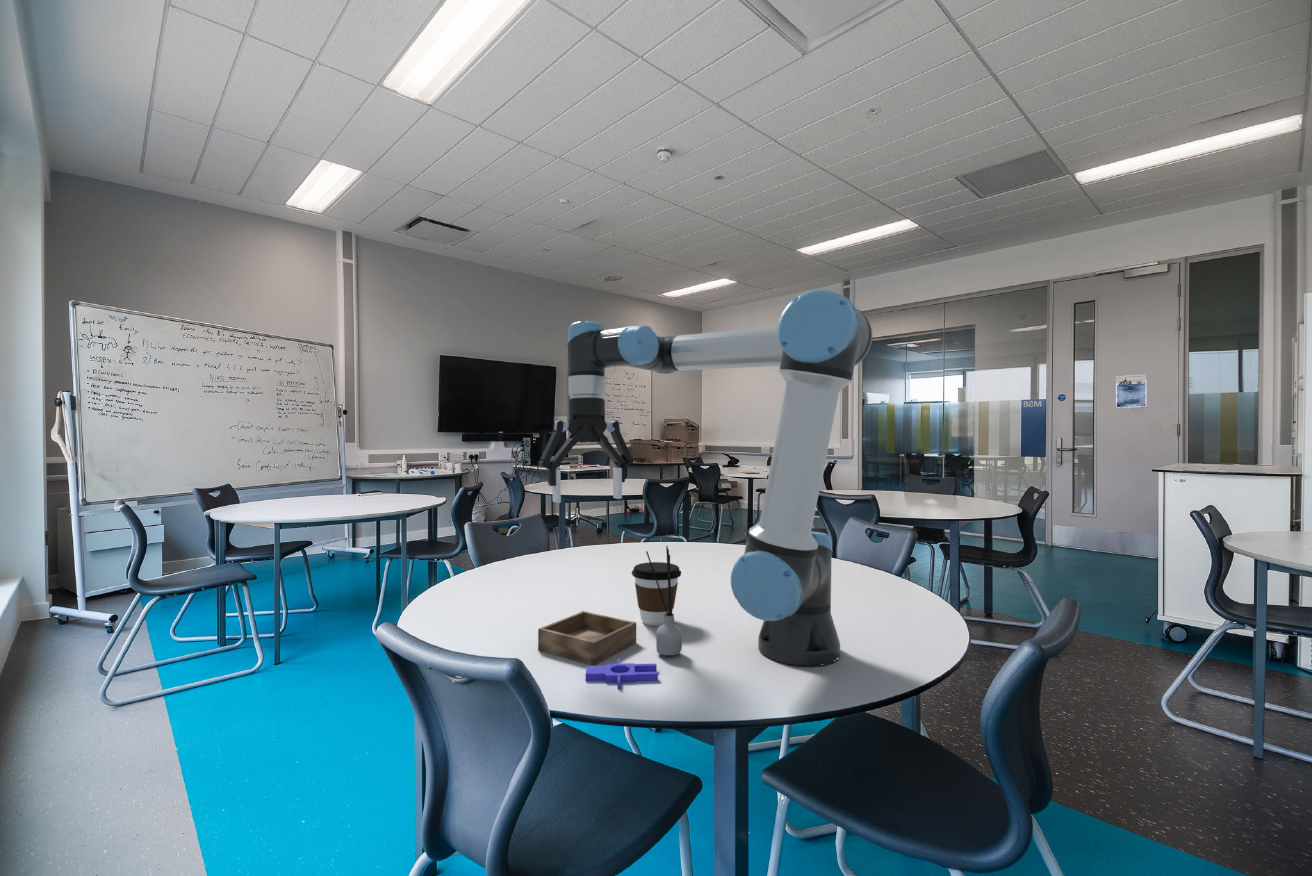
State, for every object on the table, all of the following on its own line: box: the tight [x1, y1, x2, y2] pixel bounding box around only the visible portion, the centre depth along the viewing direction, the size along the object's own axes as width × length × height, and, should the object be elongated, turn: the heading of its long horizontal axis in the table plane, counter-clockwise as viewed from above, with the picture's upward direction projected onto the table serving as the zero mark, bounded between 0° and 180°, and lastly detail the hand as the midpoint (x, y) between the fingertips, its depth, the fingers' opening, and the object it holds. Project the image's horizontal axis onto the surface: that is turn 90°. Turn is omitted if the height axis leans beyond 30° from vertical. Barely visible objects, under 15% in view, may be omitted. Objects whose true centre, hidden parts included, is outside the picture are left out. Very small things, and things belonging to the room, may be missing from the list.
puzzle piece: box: [585, 657, 659, 690], centre depth 97 cm, size 10×12×2 cm
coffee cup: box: [631, 561, 682, 627], centre depth 126 cm, size 11×11×12 cm
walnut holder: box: [537, 610, 637, 666], centre depth 111 cm, size 13×13×4 cm
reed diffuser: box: [645, 545, 683, 656], centre depth 108 cm, size 10×7×20 cm
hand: (587, 500), depth 119 cm, fingers open, 13 cm apart
